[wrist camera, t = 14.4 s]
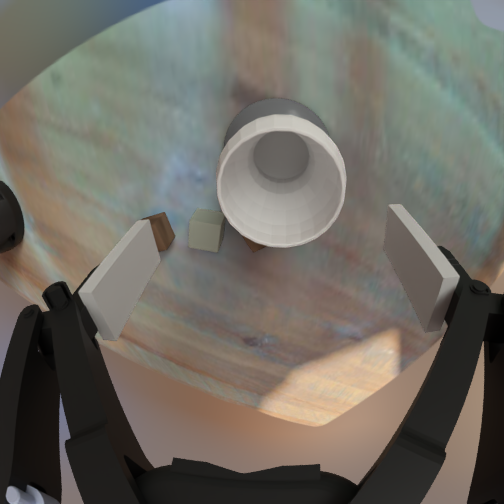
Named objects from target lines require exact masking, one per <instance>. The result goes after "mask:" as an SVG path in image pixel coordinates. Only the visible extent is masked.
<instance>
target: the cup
mask: <svg viewBox="0 0 504 504" xmlns="http://www.w3.org/2000/svg"><path fill="white" fill-rule="evenodd" d="M216 180H217V197H218V200H219V204H220V207H221V210H222V212H223V214H224V215H225V217H226V218H227V220H228V221H229V223H230V224H231V225H232V226H233V227H234V228H235V229H236V230H237V231H238V232H239V233H240V234H241V235H243V236H245V237H246V238H248V239H250V240H252V241H254V242H255V243H259V244H262V245H266V246H269V247H283V248H287V247H293V246H298V245H302V244H305V243H307V242H309V241H312V240H314V239H316V238H317V237H319V236H320V235H321V234H323V233H324V232H325V231H327V230H328V229H329V228H330V226H331V225H332V224H333V222H334V221H335V220H336V219H337V217H338V215H339V213H340V210H341V208H342V206H343V203H344V196H345V188H346V172H345V165H344V161H343V158H342V156H341V154H340V152H339V150H338V148H337V146H336V145H335V143H334V142H333V141H332V140H331V139H330V138H329V137H328V135H327V134H326V133H325V132H324V131H323V130H322V129H320V128H319V127H317V126H316V125H314V124H313V123H311V122H310V121H308V120H305V119H302V118H299V117H296V116H293V115H279V114H274V115H269V116H265V117H261V118H257V119H256V120H254V121H252V122H250V123H248V124H246V125H245V126H243V127H242V128H241V129H240V130H239V131H238V132H237V133H236V134H235V135H234V136H233V137H232V138H231V139H230V140H229V141H228V142H227V144H226V146H225V147H224V149H223V151H222V153H221V154H220V157H219V161H218V166H217V170H216Z"/></svg>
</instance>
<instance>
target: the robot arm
mask: <svg viewBox="0 0 504 504" xmlns="http://www.w3.org/2000/svg"><path fill="white" fill-rule="evenodd" d="M23 234H24V222H23V216H22V212H21V209H20V206H19V204H18V202H17V199H16V198H15V196H14V194H13V192H12V191H11V190H10V188H9V187H8V186H7V185H6V184H5V183H3V182H2V181H0V253H3V252H6V251H9V250H11V249H13V248H14V247H15V246H16V245H18V244H19V243H20V242H21V240H22V238H23ZM383 250H384V251H385V253H386V255H387V257H388V259H389V261H390V262H391V264H392V266H393V268H394V270H395V272H396V274H397V276H398V277H399V279H400V281H401V283H402V285H403V287H404V289H405V291H406V293H407V295H408V297H409V299H410V301H411V303H412V305H413V308H414V310H415V312H416V314H417V316H418V318H419V320H420V323H421V325H422V327H423V329H424V332H425V333H426V332H433V331H438V330H440V329H441V327H442V324H443V322H444V319H445V321H446V323H447V325H448V328H447V330H446V332H445V335H444V337H443V339H442V341H441V343H440V347H439V349H438V352H437V354H436V356H435V359H434V361H433V363H432V365H431V367H430V370H429V372H428V374H427V376H426V378H425V380H424V382H423V384H422V386H421V388H420V390H419V392H418V394H417V396H416V398H415V399H414V401H413V403H412V405H411V407H410V409H409V410H408V412H407V414H406V416H405V417H404V419H403V421H402V422H401V424H400V426H399V428H398V429H397V431H396V432H395V434H394V435H393V437H392V439H391V440H390V442H389V443H388V445H387V446H386V448H385V449H384V451H383V452H382V454H381V455H380V457H379V458H378V460H377V461H376V462H375V463H374V465H373V466H372V467H371V469H370V470H369V471H368V473H367V474H366V475H365V476H364V478H363V479H362V480H361V481H360V483H359V484H358V485H356V484H354V483H353V482H351V481H350V480H348V479H346V478H344V477H341V476H339V475H336V474H333V473H329V472H323V471H320V464H315V465H296V466H280V467H275V468H271V469H266V470H261V471H256V472H251V473H238V472H235V471H232V470H229V469H226V468H223V467H219V466H216V465H213V464H210V463H208V462H201V461H193V460H186V459H180V458H173V461H172V465H167V466H161V467H158V468H154V467H153V466H152V464H151V463H150V462H149V461H148V459H147V458H146V456H145V455H144V453H143V451H142V449H141V447H140V445H139V443H138V441H137V439H136V437H135V435H134V433H133V431H132V429H131V426H130V424H129V422H128V420H127V418H126V415H125V413H124V411H123V408H122V406H121V404H120V401H119V400H118V397H117V394H116V392H115V389H114V386H113V384H112V381H111V379H110V376H109V373H108V370H107V368H106V365H105V362H104V359H103V356H102V354H101V350H100V347H99V344H98V341H97V340H96V338H95V335H96V333H97V331H99V333H100V335H101V337H102V338H103V340H111V341H117V339H118V337H119V335H120V333H121V332H122V330H123V328H124V326H125V324H126V322H127V320H128V318H129V316H130V314H131V313H132V311H133V309H134V307H135V305H136V303H137V302H138V300H139V298H140V296H141V294H142V293H143V291H144V289H145V287H146V285H147V284H148V282H149V280H150V278H151V277H152V275H153V273H154V271H155V270H156V268H157V266H158V265H159V263H160V261H161V259H160V256H159V253H158V249H157V246H156V242H155V239H154V235H153V232H152V228H151V224H150V221H149V219H147V220H138V221H137V222H136V223H135V224H134V225H133V226H132V227H131V228H130V230H129V231H128V232H127V233H126V234H125V235H124V236H123V238H122V239H121V240H120V241H119V242H118V243H117V245H116V246H115V247H114V248H113V249H112V250H111V252H110V253H109V254H108V255H107V256H106V258H105V259H104V260H103V261H102V262H101V264H99V265H98V266H97V267H95V268H94V269H93V270H92V271H91V272H90V273H89V274H88V276H87V277H86V278H85V279H84V281H83V282H82V283H81V285H80V286H79V287H78V288H77V290H76V291H75V292H74V294H73V295H72V294H71V292H70V290H69V288H68V286H67V284H66V282H63V281H61V282H56V283H54V284H52V285H50V286H49V287H48V288H46V289H45V291H44V292H43V294H42V297H43V299H44V301H45V303H46V304H47V306H48V308H49V310H50V311H46V312H42V311H41V310H40V308H39V306H38V305H36V304H34V305H30V306H27V307H26V308H24V309H23V311H22V312H21V313H20V315H19V317H18V319H17V322H16V325H15V328H14V331H13V334H12V337H11V341H10V344H9V347H8V350H7V354H6V358H5V361H4V365H3V369H2V373H1V377H0V504H61V495H62V494H61V493H62V485H61V470H60V451H59V407H60V393H61V398H62V403H63V407H64V412H65V416H66V420H67V424H68V428H69V432H70V436H71V438H70V439H68V440H66V441H65V448H66V453H67V456H68V460H69V463H70V466H71V469H72V472H73V475H74V478H75V481H76V484H77V487H78V489H79V492H80V494H81V497H82V500H83V502H84V504H420V503H421V502H422V500H423V499H424V497H425V495H426V493H427V492H428V490H429V489H430V487H431V485H432V483H433V482H434V480H435V478H436V476H437V474H438V472H439V471H440V469H441V467H442V465H443V463H444V460H445V457H446V452H445V448H446V445H447V443H448V441H449V438H450V436H451V434H452V432H453V430H454V427H455V425H456V423H457V420H458V418H459V415H460V413H461V410H462V407H463V405H464V402H465V399H466V396H467V394H468V390H469V388H470V385H471V382H472V379H473V375H474V372H475V369H476V365H477V361H478V358H479V354H480V350H481V346H482V342H483V341H484V366H485V367H484V371H485V372H484V400H483V401H484V402H483V414H482V424H481V433H480V440H479V446H478V453H477V458H476V464H475V469H474V473H473V478H472V482H471V486H470V491H469V496H468V500H467V504H504V294H496V293H491V290H490V288H489V287H488V286H487V285H486V284H485V283H483V282H481V281H478V280H472V279H471V278H470V277H469V275H468V274H467V273H466V271H465V270H464V269H463V267H462V266H461V265H460V264H459V262H458V261H457V260H456V259H455V257H454V256H453V255H452V254H451V252H450V251H448V250H447V249H445V248H444V247H442V246H436V245H435V243H434V242H433V241H432V240H431V239H430V237H429V236H428V235H427V234H426V233H425V231H424V230H423V229H422V228H421V227H420V225H419V224H418V223H417V222H416V221H415V220H414V219H413V217H412V216H411V215H410V214H409V213H408V212H407V211H406V210H405V208H404V207H403V206H402V205H401V204H390V205H388V211H387V222H386V231H385V239H384V247H383ZM38 350H39V351H38Z"/></svg>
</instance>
